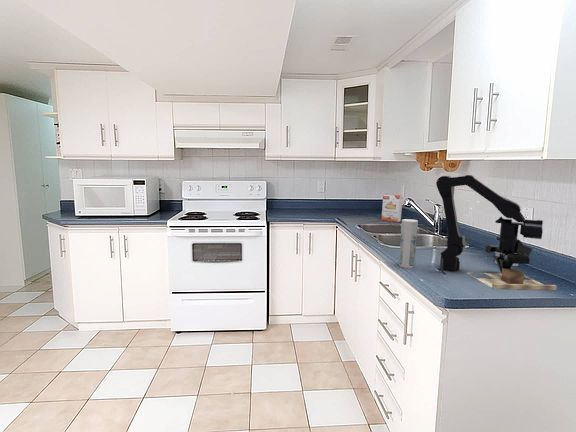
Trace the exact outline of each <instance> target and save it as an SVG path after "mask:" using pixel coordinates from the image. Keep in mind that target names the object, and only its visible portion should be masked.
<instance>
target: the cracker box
mask: <svg viewBox="0 0 576 432" xmlns="http://www.w3.org/2000/svg"><path fill="white" fill-rule="evenodd" d="M403 197H404V196H403V195H401V194H388V193H384V194H383V196H382V205H381V206H382V209H381V221H387V222H393V221H394V222H395V223H399V222H402V210H403Z"/></svg>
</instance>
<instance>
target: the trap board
mask: <svg viewBox="0 0 576 432" xmlns="http://www.w3.org/2000/svg"><path fill="white" fill-rule="evenodd" d="M467 274H468V275H469V276H471V277H473V278H475V279H476V280H478V281H479V282H481V283H483V284H485V285H486V286H488V287H490V288H491V289H494V290H527V291H528V290H533V291H557V287H558V286H557V285H556V284H544V283H541V282H539V281H538V280H535V279H533V278H531V277H529V276H526V275H524V278H527V279H524V280H523V284H508V283H506V282H504V281H502V280H501V276H502V274H501V272H500V273H497V272H496V273H495V272H492V273H491V272H490V273H489V272H480V275H481V274H482V275H483V274H484V275H487V276H488V277H490V278H477V277H476V276H474V275H472V273H470V272H467Z"/></svg>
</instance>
